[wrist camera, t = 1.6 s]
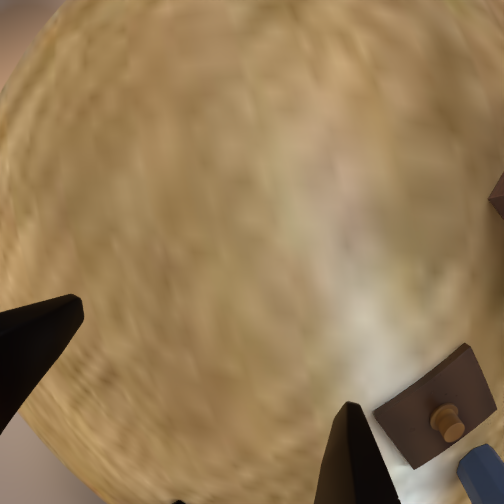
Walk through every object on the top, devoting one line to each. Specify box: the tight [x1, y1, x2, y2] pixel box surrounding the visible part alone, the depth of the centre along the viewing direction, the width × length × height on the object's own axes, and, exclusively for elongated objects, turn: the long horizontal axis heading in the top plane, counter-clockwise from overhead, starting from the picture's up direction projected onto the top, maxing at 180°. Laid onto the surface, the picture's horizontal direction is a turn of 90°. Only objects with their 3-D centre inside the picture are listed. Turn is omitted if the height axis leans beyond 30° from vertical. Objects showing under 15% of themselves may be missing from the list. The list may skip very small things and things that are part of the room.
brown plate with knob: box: [373, 343, 497, 470], centre depth 20 cm, size 10×9×4 cm
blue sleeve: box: [457, 444, 504, 504], centre depth 14 cm, size 5×5×13 cm
